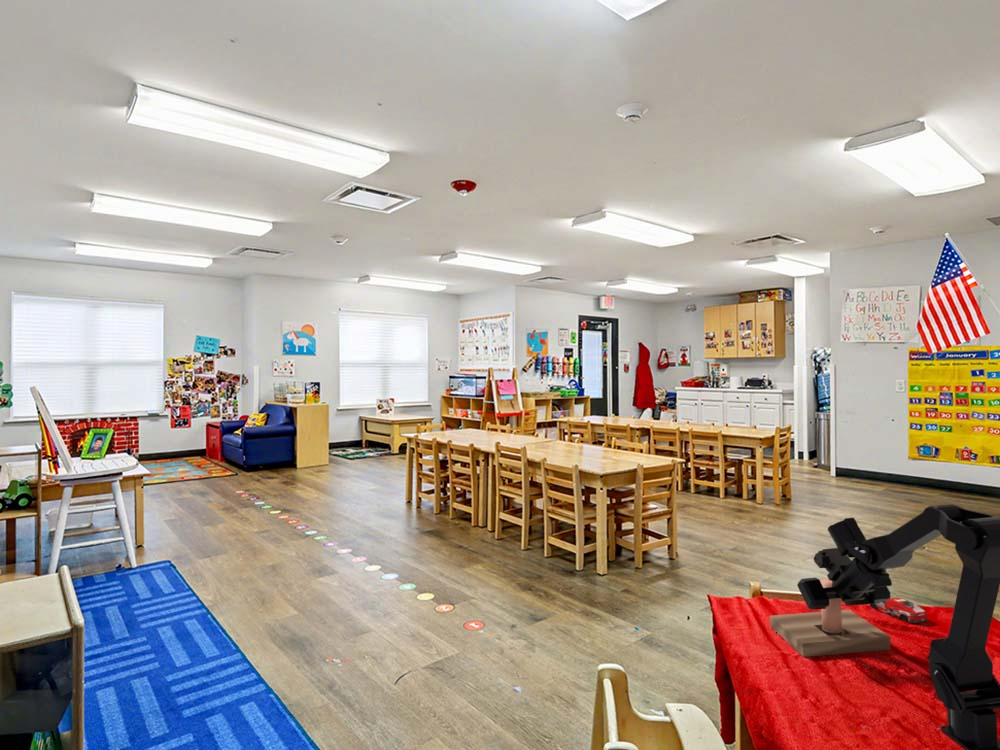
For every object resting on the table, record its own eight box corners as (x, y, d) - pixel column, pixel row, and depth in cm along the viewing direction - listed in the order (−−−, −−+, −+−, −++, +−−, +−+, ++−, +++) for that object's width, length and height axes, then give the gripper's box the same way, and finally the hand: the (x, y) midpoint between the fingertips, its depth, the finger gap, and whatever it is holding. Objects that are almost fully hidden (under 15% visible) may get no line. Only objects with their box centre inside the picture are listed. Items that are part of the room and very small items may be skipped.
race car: (864, 606, 152) (864, 591, 152) (880, 602, 153) (879, 587, 153) (914, 627, 139) (914, 610, 139) (931, 623, 141) (930, 606, 141)
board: (890, 649, 129) (889, 636, 129) (802, 656, 128) (802, 643, 128) (849, 621, 143) (848, 609, 143) (770, 628, 142) (769, 615, 142)
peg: (843, 648, 131) (841, 586, 131) (822, 645, 133) (820, 584, 132) (842, 639, 135) (840, 579, 134) (821, 636, 136) (819, 577, 136)
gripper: (878, 537, 130) (846, 569, 141) (800, 544, 128) (773, 576, 139) (908, 585, 123) (871, 614, 134) (825, 593, 121) (795, 623, 132)
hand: (827, 605), depth 135 cm, fingers open, 9 cm apart
